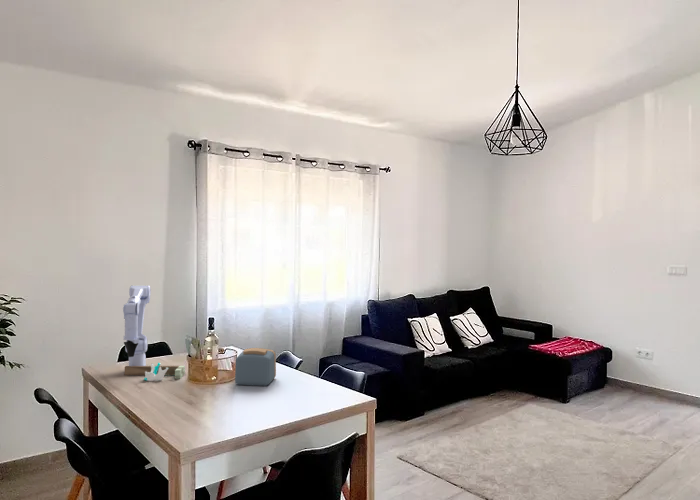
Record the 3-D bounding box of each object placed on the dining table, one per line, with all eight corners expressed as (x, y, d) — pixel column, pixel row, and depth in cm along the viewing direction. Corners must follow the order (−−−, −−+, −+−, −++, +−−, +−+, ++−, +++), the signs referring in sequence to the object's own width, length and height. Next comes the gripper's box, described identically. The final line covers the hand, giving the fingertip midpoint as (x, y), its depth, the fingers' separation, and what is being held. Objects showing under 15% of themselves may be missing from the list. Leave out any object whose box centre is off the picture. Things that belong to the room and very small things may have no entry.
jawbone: (137, 377, 256) (145, 358, 258) (152, 381, 261) (159, 362, 263) (147, 381, 247) (155, 362, 250) (162, 385, 252) (170, 366, 254)
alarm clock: (276, 377, 260) (277, 345, 260) (268, 387, 244) (268, 352, 243) (244, 376, 262) (244, 344, 261) (233, 385, 245) (233, 351, 245)
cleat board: (125, 374, 264) (125, 366, 264) (184, 373, 266) (184, 365, 266) (118, 379, 254) (119, 370, 254) (180, 378, 256) (180, 370, 256)
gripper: (145, 329, 253) (145, 357, 253) (134, 325, 264) (133, 353, 264) (130, 330, 248) (130, 359, 248) (119, 327, 259) (119, 355, 259)
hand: (131, 356), depth 256 cm, fingers closed
